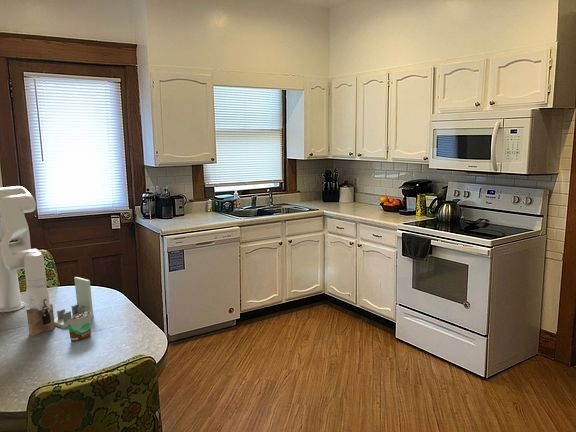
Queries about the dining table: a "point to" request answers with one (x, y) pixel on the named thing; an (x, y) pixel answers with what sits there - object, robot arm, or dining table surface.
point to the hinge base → (82, 303)
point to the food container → (80, 326)
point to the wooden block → (39, 321)
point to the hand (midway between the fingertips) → (41, 321)
